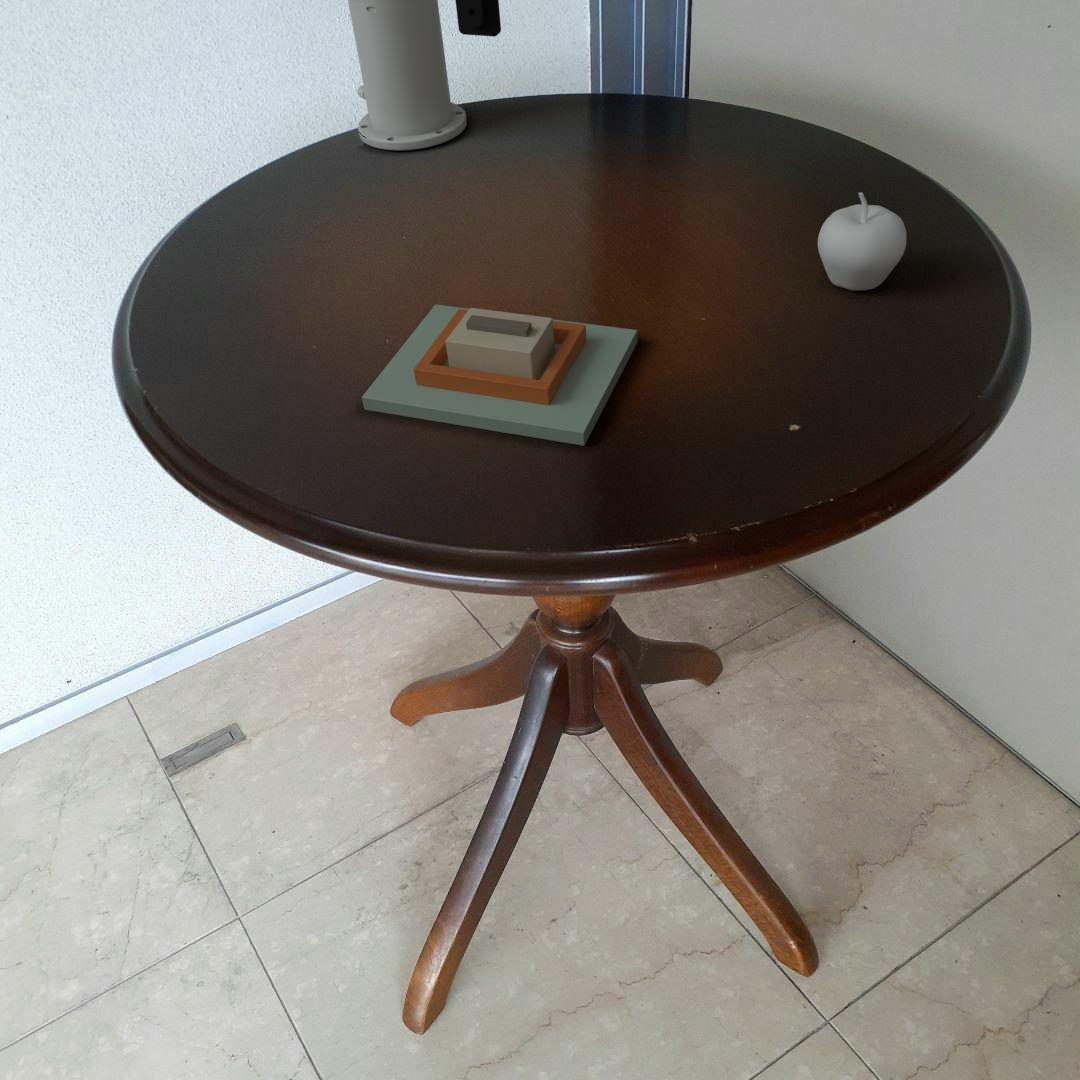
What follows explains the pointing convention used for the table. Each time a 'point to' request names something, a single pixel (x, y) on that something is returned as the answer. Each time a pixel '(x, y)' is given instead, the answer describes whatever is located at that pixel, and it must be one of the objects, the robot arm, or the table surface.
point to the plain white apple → (861, 245)
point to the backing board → (505, 382)
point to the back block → (501, 343)
